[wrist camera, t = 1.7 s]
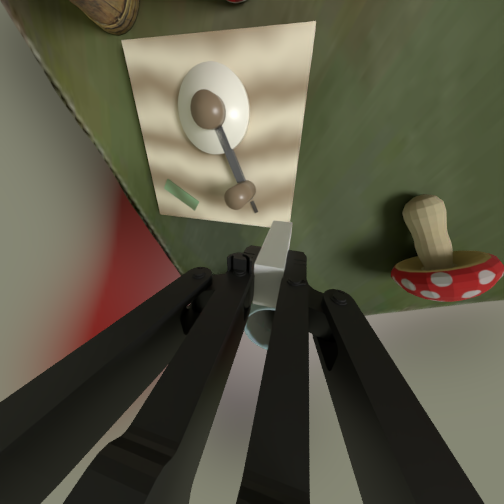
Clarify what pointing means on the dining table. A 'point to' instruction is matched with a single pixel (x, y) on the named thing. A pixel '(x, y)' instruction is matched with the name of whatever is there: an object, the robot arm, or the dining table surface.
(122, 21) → the wooden mug
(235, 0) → the soda can
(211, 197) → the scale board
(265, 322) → the blue cup
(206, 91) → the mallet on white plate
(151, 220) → the dining table surface
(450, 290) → the decorative mushroom
